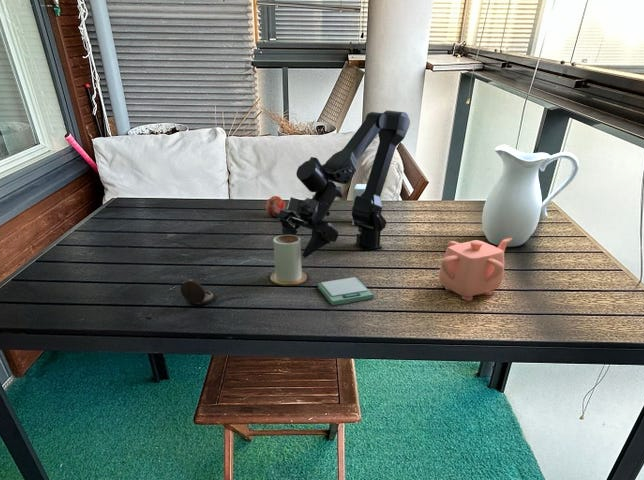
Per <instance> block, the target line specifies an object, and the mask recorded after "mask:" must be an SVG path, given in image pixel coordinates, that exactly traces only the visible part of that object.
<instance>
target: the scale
mask: <svg viewBox="0 0 644 480" xmlns="http://www.w3.org/2000/svg"><path fill="white" fill-rule="evenodd" d="M317 289H318V290H319V291H320V292H321V293H322V294H323V296H324V298H326V299H327V301H328V302H329V303H330V304H331V306H338V305H344V304H349V303H356V302H361V301H368V300H373V299H374V294H373V292H372V291H370V289H368V288H367V287H366V285H364V283H362V282H361V280H360V279H358V277H354V276H353V277H347V278H341V279H340V278H339V279H335V280H329V281H321V282H319V283H317Z"/></svg>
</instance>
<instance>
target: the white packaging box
mask: <svg viewBox="0 0 644 480" xmlns="http://www.w3.org/2000/svg"><path fill="white" fill-rule="evenodd" d="M366 185H367V183H356V184H355V186H354V187H353V197H352V205H353V204H354V200H355V197H356V196H361V195H362V194H363V193H364V191H365V188H366ZM351 224H352V226H355V225H354V221H353V220H352V222H351Z"/></svg>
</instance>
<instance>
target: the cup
mask: <svg viewBox="0 0 644 480" xmlns="http://www.w3.org/2000/svg"><path fill="white" fill-rule="evenodd" d="M272 242H273V258H274V272H275V276H276V279H277V280H279V281H283V282H293V281H297V280H299V279H301V277H302V272H303V270H302V269H303V268H302V267H303V266H302V265H303V264H302V239H301V237H300V236H298V235H296V234H295V235H282V234H280V235H277V236H275V237H274V238H273V241H272Z"/></svg>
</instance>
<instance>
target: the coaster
mask: <svg viewBox="0 0 644 480" xmlns="http://www.w3.org/2000/svg"><path fill="white" fill-rule="evenodd" d="M307 280H308V275H307V273H306V272H304V271H302V277H301V279H299V280H297V281H293V282H283V281H279V280H277V279H276V276H275V271H274V272H272V274H271V275H270V281H271V283H273V284H275V285H278V286H284V287H285V286H286V287H291V286H297V285H300V284H304V282H306V281H307Z"/></svg>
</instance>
